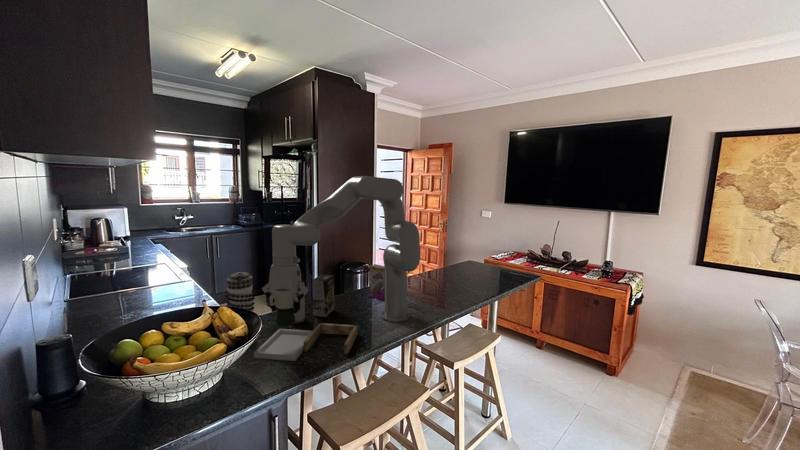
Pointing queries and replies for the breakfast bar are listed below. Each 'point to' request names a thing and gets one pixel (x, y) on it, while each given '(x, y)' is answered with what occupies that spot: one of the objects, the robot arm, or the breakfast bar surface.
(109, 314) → the breakfast bar surface
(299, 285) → the robot arm
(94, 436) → the breakfast bar surface
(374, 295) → the candy bar box
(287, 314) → the character mug
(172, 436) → the breakfast bar surface
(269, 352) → the tray
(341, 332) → the bay
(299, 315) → the travel mug
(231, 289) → the decorative candle
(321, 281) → the coffee box
